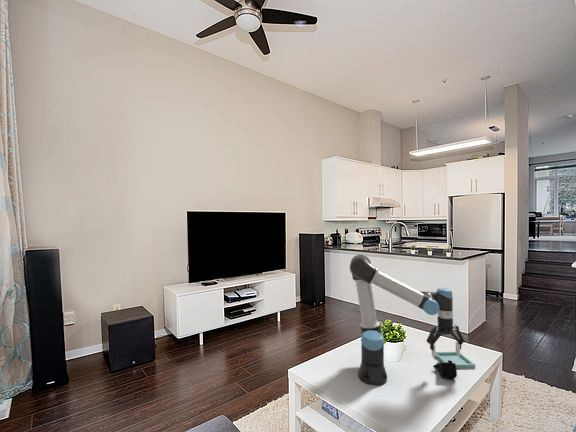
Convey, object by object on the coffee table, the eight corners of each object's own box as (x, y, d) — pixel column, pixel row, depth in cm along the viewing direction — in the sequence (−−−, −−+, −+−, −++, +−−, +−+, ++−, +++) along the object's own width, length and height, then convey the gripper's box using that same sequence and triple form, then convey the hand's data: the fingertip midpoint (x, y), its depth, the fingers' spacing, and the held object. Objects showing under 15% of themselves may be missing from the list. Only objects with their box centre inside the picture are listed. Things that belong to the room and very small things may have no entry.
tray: (447, 368, 172) (447, 364, 172) (433, 355, 188) (433, 352, 188) (475, 368, 172) (475, 364, 172) (458, 354, 188) (458, 351, 188)
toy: (446, 358, 175) (457, 361, 161) (448, 373, 172) (459, 378, 158) (429, 357, 176) (439, 360, 162) (431, 373, 173) (441, 377, 159)
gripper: (426, 320, 161) (426, 359, 161) (471, 318, 162) (472, 357, 162) (419, 315, 169) (420, 352, 169) (463, 314, 169) (463, 351, 170)
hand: (445, 355), depth 165 cm, fingers open, 13 cm apart
